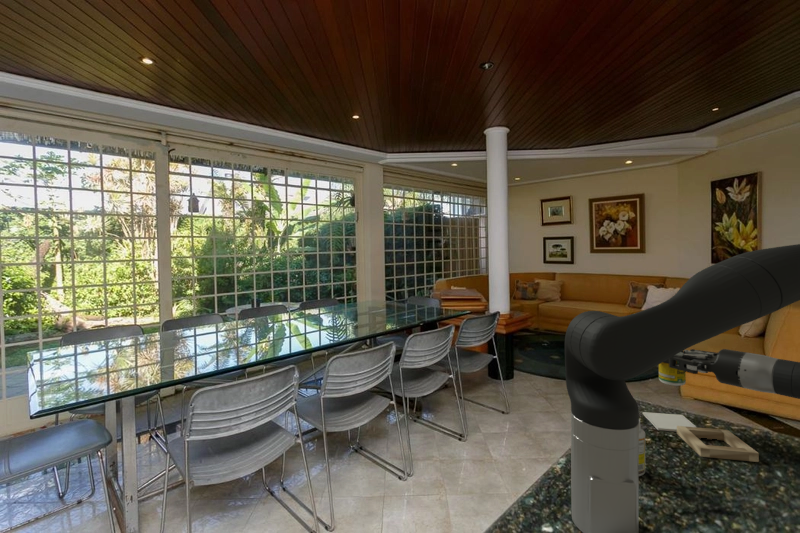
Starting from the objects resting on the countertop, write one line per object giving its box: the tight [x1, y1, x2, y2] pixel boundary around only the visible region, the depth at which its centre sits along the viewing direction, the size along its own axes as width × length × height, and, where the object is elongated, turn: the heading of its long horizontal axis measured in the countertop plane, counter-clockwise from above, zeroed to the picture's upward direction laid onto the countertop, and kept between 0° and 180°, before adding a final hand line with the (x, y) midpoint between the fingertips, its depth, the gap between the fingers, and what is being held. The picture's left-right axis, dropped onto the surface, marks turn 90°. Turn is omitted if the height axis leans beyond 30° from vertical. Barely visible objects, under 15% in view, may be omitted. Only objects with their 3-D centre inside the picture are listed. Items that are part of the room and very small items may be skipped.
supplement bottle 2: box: [658, 352, 687, 387], centre depth 91 cm, size 5×5×10 cm
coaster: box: [642, 411, 697, 433], centre depth 91 cm, size 9×9×1 cm
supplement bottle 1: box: [639, 418, 646, 477], centre depth 72 cm, size 6×6×10 cm
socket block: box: [676, 426, 760, 463], centre depth 80 cm, size 10×10×2 cm
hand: (660, 353), depth 93 cm, fingers closed on supplement bottle 2, 5 cm apart
